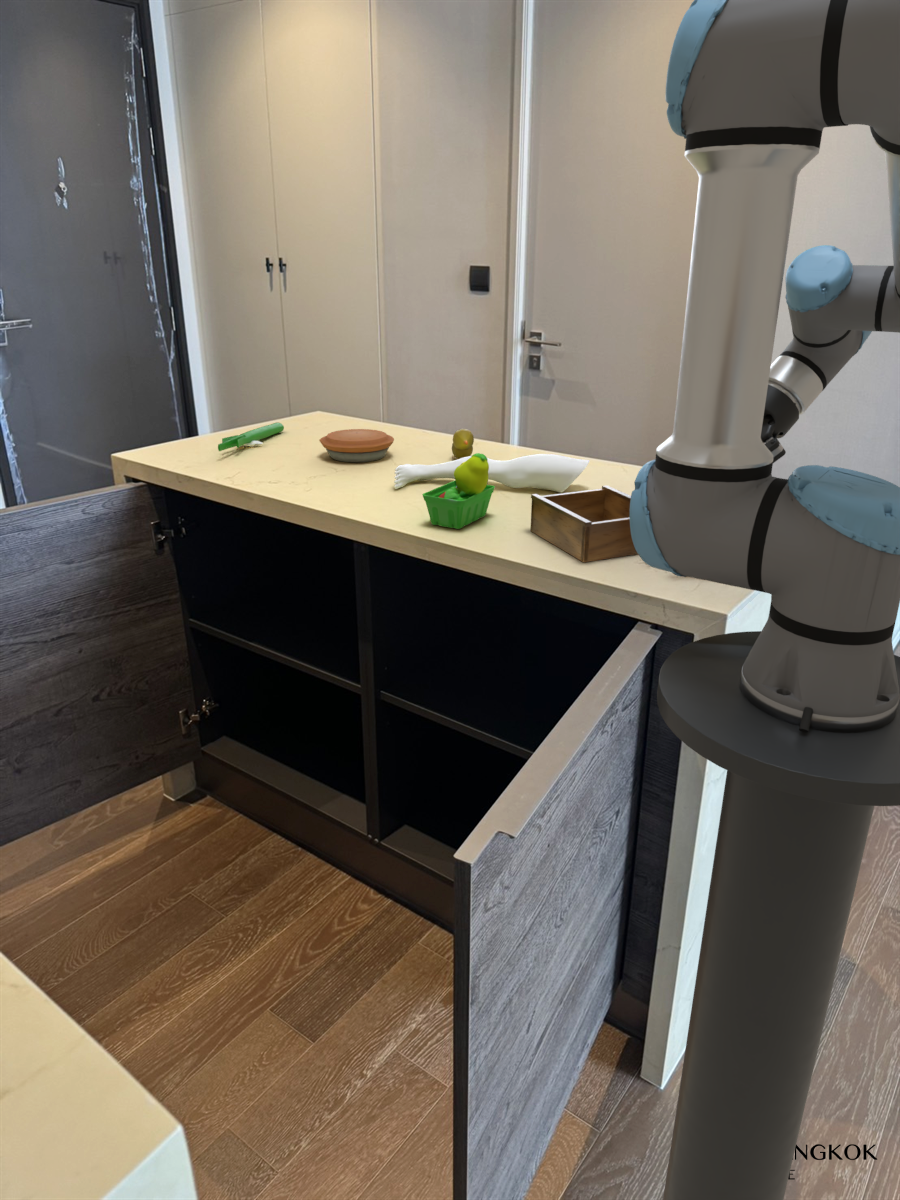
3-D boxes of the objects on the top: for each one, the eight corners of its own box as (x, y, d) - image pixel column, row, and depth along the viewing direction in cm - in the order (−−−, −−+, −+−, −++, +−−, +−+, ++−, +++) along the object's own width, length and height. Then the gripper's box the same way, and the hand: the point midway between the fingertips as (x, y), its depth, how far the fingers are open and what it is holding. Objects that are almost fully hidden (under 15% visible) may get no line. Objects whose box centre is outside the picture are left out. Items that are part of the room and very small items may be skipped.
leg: (589, 460, 148) (590, 447, 158) (391, 464, 154) (403, 451, 164) (589, 498, 151) (589, 483, 160) (394, 500, 157) (406, 485, 166)
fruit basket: (456, 508, 146) (456, 441, 142) (502, 516, 142) (504, 448, 138) (420, 525, 137) (419, 455, 133) (469, 534, 133) (469, 462, 128)
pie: (361, 445, 191) (360, 422, 189) (409, 456, 181) (409, 432, 179) (305, 456, 181) (304, 432, 179) (353, 469, 171) (352, 444, 169)
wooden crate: (663, 550, 126) (667, 511, 124) (583, 562, 121) (585, 522, 119) (604, 520, 140) (607, 485, 137) (529, 530, 135) (531, 494, 132)
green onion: (270, 435, 204) (209, 456, 177) (270, 421, 203) (208, 440, 176) (290, 436, 203) (231, 458, 176) (289, 422, 202) (230, 442, 175)
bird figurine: (455, 467, 172) (455, 435, 170) (448, 451, 186) (448, 420, 184) (477, 467, 173) (477, 434, 170) (468, 450, 186) (468, 420, 184)
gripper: (840, 430, 111) (722, 567, 111) (745, 407, 126) (641, 529, 126) (816, 390, 107) (693, 533, 107) (721, 372, 122) (613, 497, 122)
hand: (665, 530), depth 116 cm, fingers closed on carrot, 5 cm apart
